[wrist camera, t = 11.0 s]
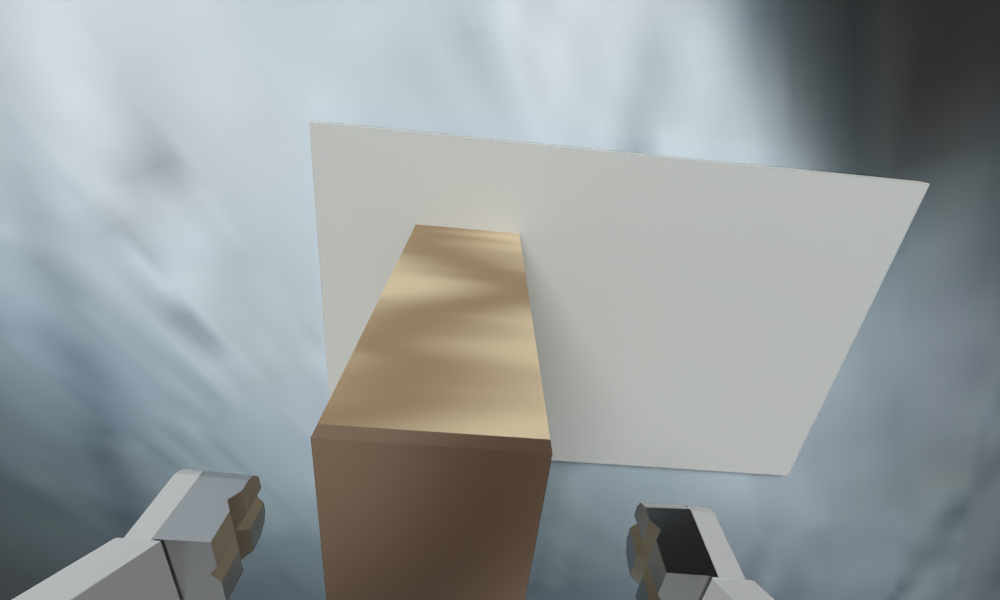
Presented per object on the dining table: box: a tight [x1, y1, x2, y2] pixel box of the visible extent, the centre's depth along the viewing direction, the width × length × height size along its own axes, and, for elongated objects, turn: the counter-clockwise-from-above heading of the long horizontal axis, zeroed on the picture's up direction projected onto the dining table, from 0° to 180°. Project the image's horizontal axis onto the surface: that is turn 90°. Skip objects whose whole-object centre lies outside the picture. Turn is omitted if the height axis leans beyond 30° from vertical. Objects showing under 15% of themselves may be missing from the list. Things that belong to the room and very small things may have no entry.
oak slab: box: [311, 224, 553, 600], centre depth 13 cm, size 4×8×10 cm, turn 174°
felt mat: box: [309, 121, 930, 476], centre depth 18 cm, size 20×13×1 cm, turn 85°
